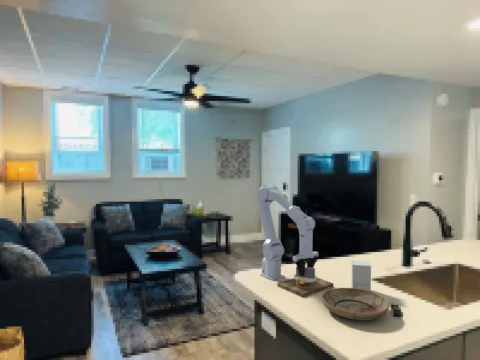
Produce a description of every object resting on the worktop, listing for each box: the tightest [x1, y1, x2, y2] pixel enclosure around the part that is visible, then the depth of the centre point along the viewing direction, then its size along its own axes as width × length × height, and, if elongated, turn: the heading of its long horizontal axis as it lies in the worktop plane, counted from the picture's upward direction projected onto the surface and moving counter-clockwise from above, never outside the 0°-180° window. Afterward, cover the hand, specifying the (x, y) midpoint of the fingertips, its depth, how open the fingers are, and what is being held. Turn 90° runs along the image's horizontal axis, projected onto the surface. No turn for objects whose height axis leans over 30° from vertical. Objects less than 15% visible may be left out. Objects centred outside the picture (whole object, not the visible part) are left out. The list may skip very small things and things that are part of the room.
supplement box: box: [351, 259, 372, 292], centre depth 141 cm, size 7×7×13 cm
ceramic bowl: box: [321, 287, 390, 321], centre depth 122 cm, size 23×24×5 cm
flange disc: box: [293, 266, 318, 284], centre depth 146 cm, size 12×10×5 cm
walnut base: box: [277, 277, 334, 298], centre depth 147 cm, size 15×20×5 cm
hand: (305, 274), depth 147 cm, fingers closed on flange disc, 4 cm apart
